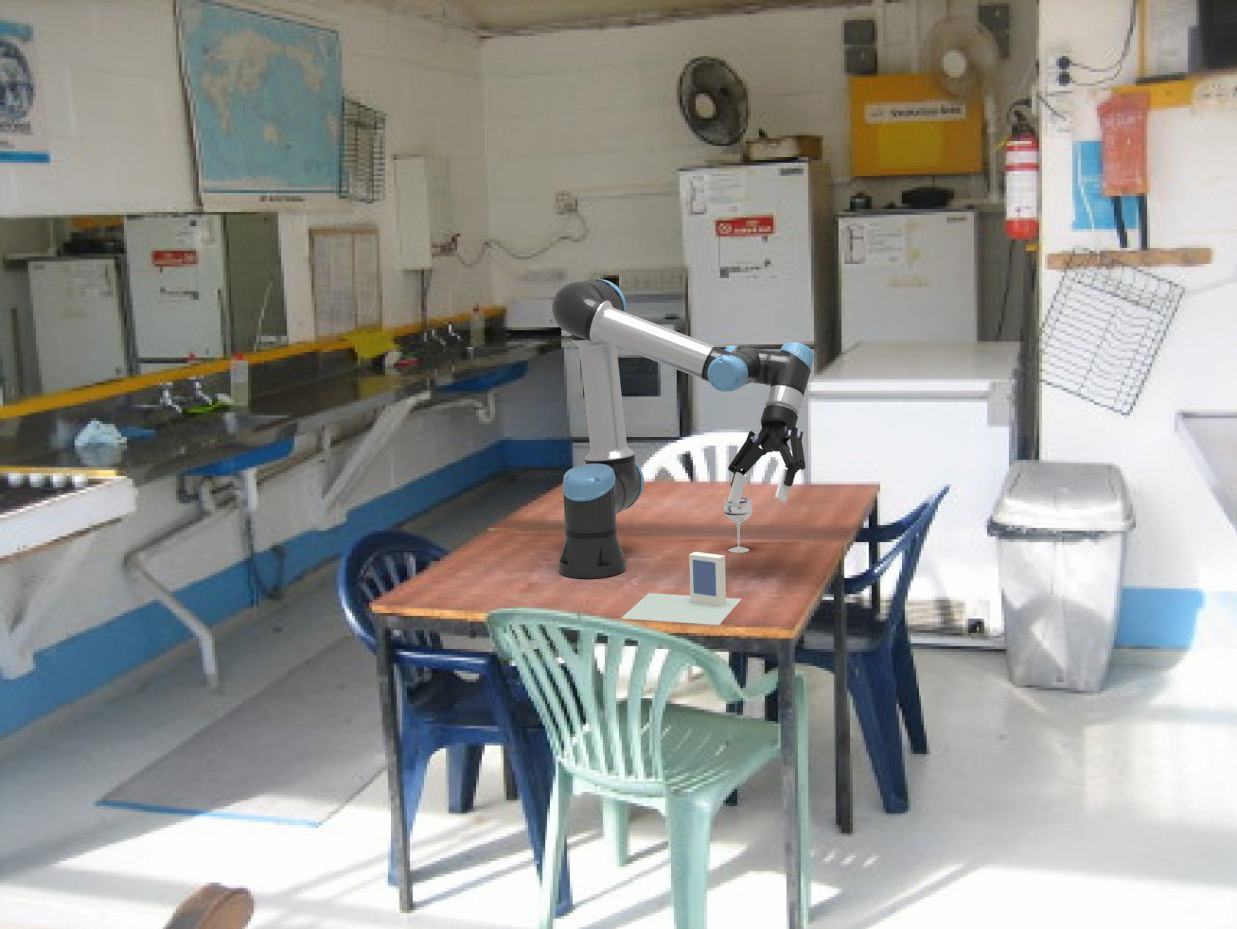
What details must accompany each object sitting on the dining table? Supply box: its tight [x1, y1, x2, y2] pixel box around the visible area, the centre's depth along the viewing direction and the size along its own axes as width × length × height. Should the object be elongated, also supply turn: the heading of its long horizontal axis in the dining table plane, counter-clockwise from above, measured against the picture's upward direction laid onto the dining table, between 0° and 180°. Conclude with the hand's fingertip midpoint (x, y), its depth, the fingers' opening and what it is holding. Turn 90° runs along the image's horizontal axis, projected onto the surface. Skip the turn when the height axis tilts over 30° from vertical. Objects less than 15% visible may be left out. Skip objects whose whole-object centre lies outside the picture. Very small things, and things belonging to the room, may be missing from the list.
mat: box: [620, 592, 742, 626], centre depth 267 cm, size 20×18×1 cm
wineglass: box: [723, 497, 753, 554], centre depth 313 cm, size 7×7×12 cm
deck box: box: [688, 551, 727, 606], centre depth 270 cm, size 2×7×10 cm, turn 55°
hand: (756, 501), depth 279 cm, fingers open, 13 cm apart
